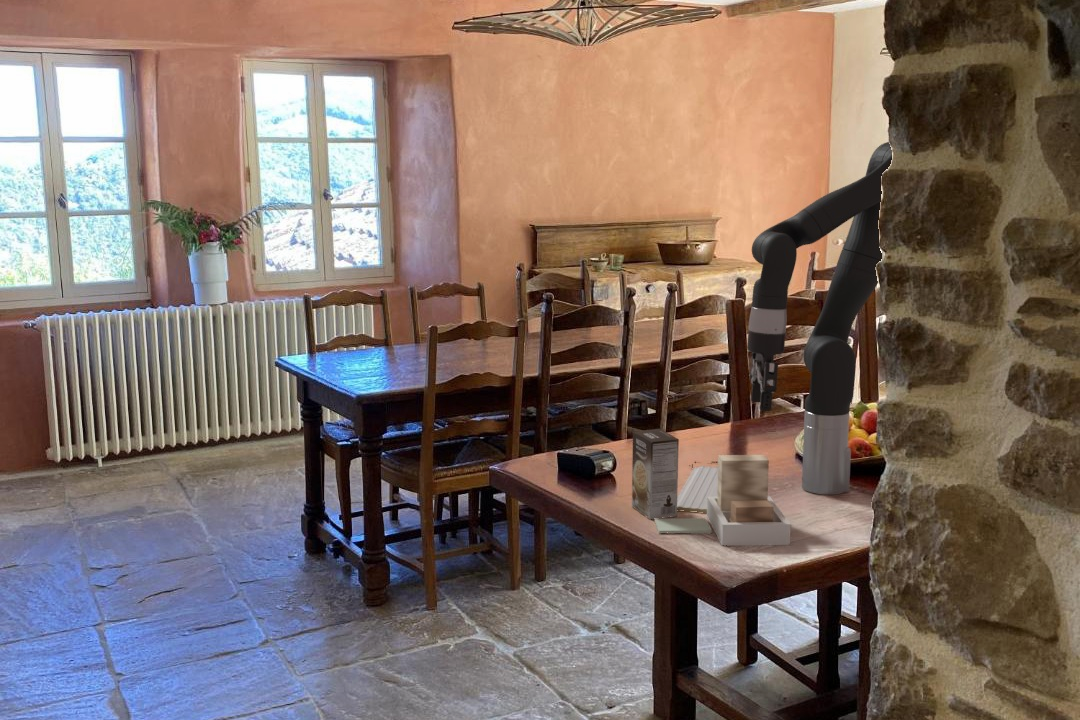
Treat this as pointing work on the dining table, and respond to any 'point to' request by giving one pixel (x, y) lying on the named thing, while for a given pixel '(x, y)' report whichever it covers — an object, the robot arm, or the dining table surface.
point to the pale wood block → (741, 479)
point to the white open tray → (748, 527)
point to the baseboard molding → (698, 489)
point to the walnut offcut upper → (751, 511)
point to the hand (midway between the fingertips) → (760, 406)
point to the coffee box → (655, 473)
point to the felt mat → (683, 525)
